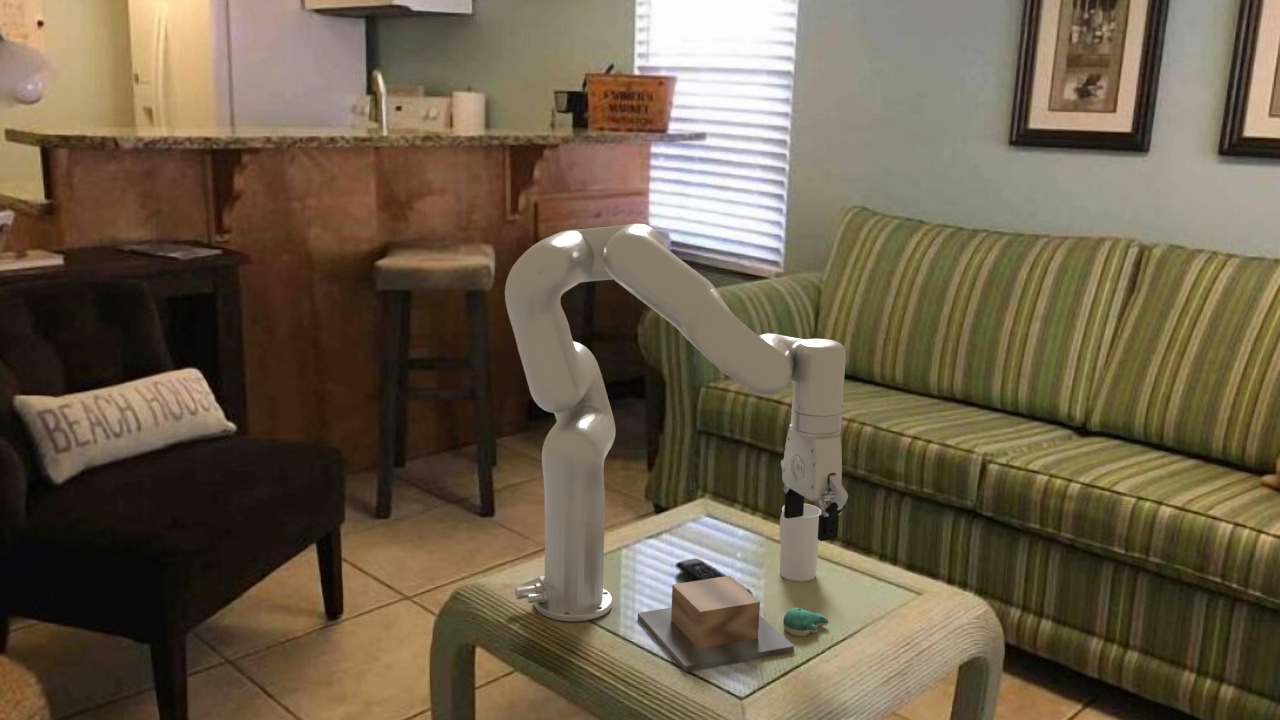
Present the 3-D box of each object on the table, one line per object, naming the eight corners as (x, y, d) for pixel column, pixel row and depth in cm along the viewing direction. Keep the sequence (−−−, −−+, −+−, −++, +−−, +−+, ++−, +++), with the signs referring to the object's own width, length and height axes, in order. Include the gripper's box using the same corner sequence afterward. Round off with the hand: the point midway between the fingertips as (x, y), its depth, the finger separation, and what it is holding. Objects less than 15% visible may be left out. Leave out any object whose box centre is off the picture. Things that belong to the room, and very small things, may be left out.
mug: (824, 579, 193) (828, 514, 190) (790, 584, 190) (794, 519, 188) (795, 557, 202) (799, 495, 199) (762, 562, 199) (766, 499, 197)
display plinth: (685, 672, 160) (687, 628, 159) (637, 618, 176) (638, 577, 175) (793, 652, 167) (796, 609, 166) (738, 602, 183) (740, 562, 182)
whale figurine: (775, 626, 176) (776, 604, 175) (813, 618, 179) (815, 596, 178) (795, 642, 171) (797, 619, 170) (835, 633, 174) (836, 611, 173)
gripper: (765, 408, 174) (761, 512, 178) (826, 440, 158) (819, 552, 162) (807, 404, 177) (801, 506, 180) (870, 434, 161) (862, 545, 165)
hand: (810, 527), depth 171 cm, fingers open, 9 cm apart
